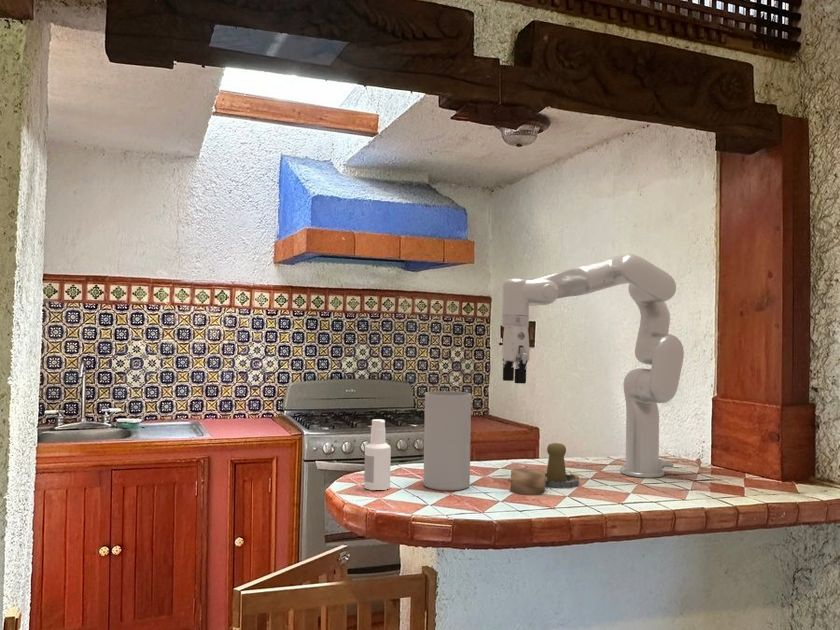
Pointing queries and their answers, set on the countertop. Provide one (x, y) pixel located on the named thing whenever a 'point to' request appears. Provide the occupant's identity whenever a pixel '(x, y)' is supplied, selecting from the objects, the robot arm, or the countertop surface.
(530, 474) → the pot
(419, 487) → the countertop surface
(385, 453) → the spray bottle
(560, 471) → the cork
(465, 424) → the cylinder vase
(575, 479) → the collar
